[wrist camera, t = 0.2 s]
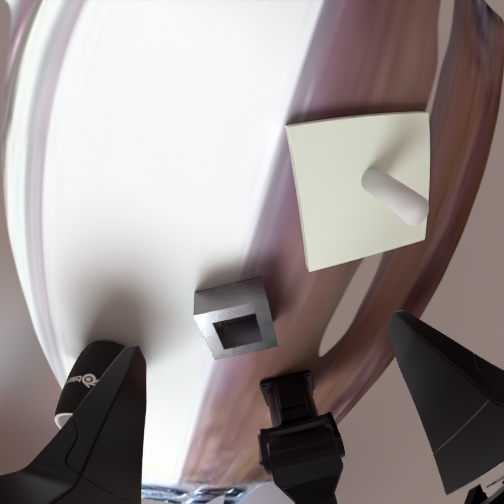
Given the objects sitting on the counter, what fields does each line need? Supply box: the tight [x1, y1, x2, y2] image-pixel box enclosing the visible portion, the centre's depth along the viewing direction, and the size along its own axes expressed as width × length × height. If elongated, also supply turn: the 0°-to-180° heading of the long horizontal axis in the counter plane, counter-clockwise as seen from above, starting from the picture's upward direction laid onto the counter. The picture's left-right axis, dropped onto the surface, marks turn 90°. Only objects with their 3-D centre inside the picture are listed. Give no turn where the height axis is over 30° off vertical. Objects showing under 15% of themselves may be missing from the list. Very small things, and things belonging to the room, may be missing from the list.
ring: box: [194, 277, 278, 360], centre depth 25 cm, size 6×6×3 cm
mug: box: [55, 341, 125, 429], centre depth 25 cm, size 12×9×10 cm
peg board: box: [285, 111, 430, 272], centre depth 19 cm, size 12×12×7 cm
